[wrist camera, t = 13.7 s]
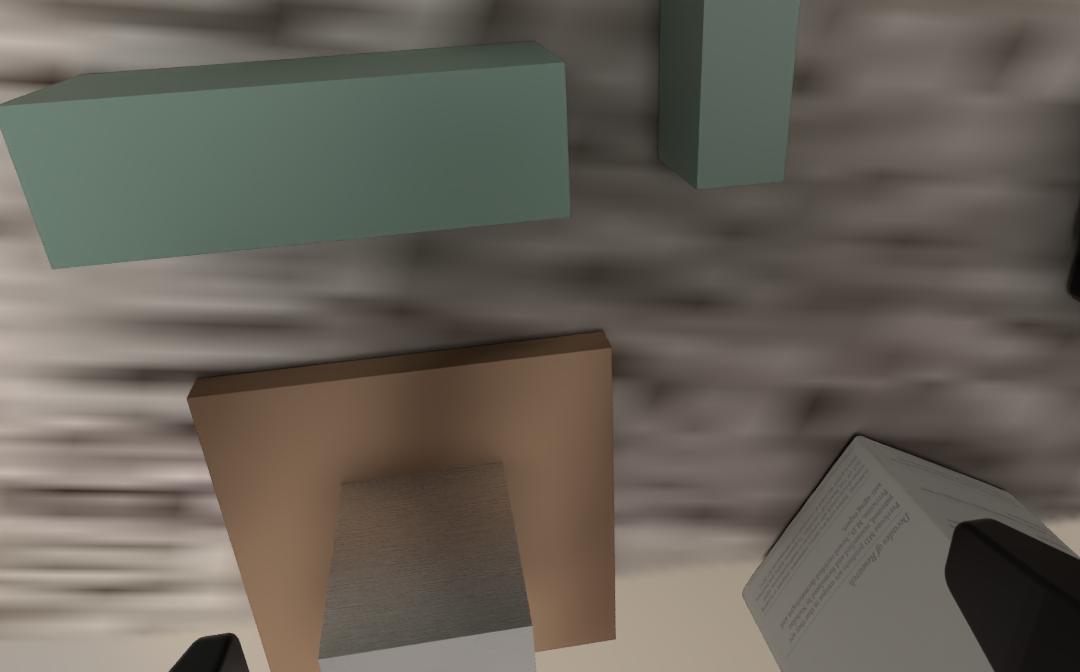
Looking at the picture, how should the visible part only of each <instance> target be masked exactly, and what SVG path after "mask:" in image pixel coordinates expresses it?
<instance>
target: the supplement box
mask: <svg viewBox="0 0 1080 672" xmlns="http://www.w3.org/2000/svg"><path fill="white" fill-rule="evenodd" d="M982 518H991V519H995V520H997V521H999V522H1001V523H1003V524H1006V525H1008V526H1010V527H1012V528H1014V529H1016V530H1018V531H1020V532H1023V533H1025V534H1027V535H1029V536H1031V537H1033V538H1035V539H1037V540H1040V541H1042V542H1044V543H1046V544H1048V545H1050V546H1052V547H1054V548H1056V549H1059V550H1061V551H1063V552H1065V553H1067V554H1069V555H1071V556H1073V557H1076V558H1078V559H1080V557H1079V556H1078V555H1076V554H1075V553H1074V552H1073V551H1072V550H1071V549H1070V548H1069V547H1068V546H1067V545H1065V544H1064V543H1063V542H1062V541H1061V540H1060V539H1059V538H1058V537H1057V536H1056V535H1055V534H1054V533H1053V532H1052V531H1050V530H1049V529H1048V528H1047V527H1046V526H1045V525H1044V524H1043V523H1042V522H1041V521H1040V520H1039V519H1037V518H1036V517H1035V516H1034V515H1033V514H1032V513H1031V512H1030V511H1029V510H1028V509H1026V508H1025V507H1024V506H1023V505H1022V504H1021V503H1020V502H1019V501H1018V500H1016V499H1015V498H1014V497H1013V496H1012V495H1011V494H1009V493H1008V492H1006V491H1003V490H1001V489H998V488H996V487H993V486H991V485H989V484H986V483H984V482H981V481H978V480H976V479H973V478H971V477H968V476H965V475H963V474H960V473H958V472H955V471H952V470H950V469H947V468H944V467H942V466H939V465H936V464H934V463H931V462H929V461H926V460H923V459H921V458H918V457H915V456H913V455H910V454H907V453H905V452H902V451H899V450H897V449H894V448H891V447H889V446H886V445H883V444H881V443H878V442H876V441H873V440H870V439H868V438H865V437H863V436H857V437H855V438H854V440H853V441H852V442H851V443H850V445H849V446H848V447H847V448H846V450H845V451H844V452H843V454H842V455H841V457H840V458H839V459H838V460H837V462H836V463H835V464H834V466H833V467H832V468H831V470H830V471H829V472H828V474H827V475H826V476H825V478H824V479H823V481H822V482H821V483H820V485H819V486H818V488H817V489H816V490H815V491H814V493H813V494H812V495H811V497H810V498H809V499H808V501H807V502H806V503H805V505H804V506H803V508H802V509H801V510H800V512H799V513H798V514H797V516H796V517H795V518H794V519H793V521H792V522H791V523H790V525H789V526H788V527H787V529H786V530H785V532H784V533H783V534H782V536H781V537H780V539H779V540H778V542H777V543H776V544H775V545H774V547H773V548H772V549H771V551H770V552H769V553H768V555H767V556H766V558H765V559H764V561H763V562H762V563H761V565H760V566H759V567H758V568H757V570H756V571H755V573H754V574H753V575H752V577H751V579H750V580H749V582H748V583H747V584H746V586H745V588H744V590H743V594H742V596H743V598H744V600H745V603H746V605H747V607H748V608H749V610H750V612H751V614H752V616H753V618H754V620H755V622H756V623H757V625H758V627H759V629H760V631H761V633H762V635H763V637H764V639H765V641H766V643H767V644H768V647H769V649H770V651H771V652H772V654H773V656H774V658H775V660H776V662H777V664H778V666H779V668H780V670H781V672H994V671H993V669H992V667H991V665H990V663H989V662H988V660H987V658H986V656H985V654H984V652H983V651H982V649H981V647H980V645H979V643H978V642H977V640H976V638H975V636H974V634H973V633H972V631H971V629H970V627H969V625H968V623H967V622H966V620H965V618H964V616H963V614H962V613H961V611H960V609H959V607H958V605H957V604H956V602H955V600H954V598H953V596H952V594H951V593H950V591H949V589H948V586H947V584H946V580H945V572H944V569H945V564H946V560H947V556H948V552H949V548H950V544H951V540H952V536H953V531H954V529H955V527H956V526H957V525H958V524H959V523H960V522H963V521H968V520H975V519H982Z"/></svg>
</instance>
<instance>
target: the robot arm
mask: <svg viewBox="0 0 1080 672" xmlns="http://www.w3.org/2000/svg"><path fill="white" fill-rule="evenodd" d="M1071 295H1072V297H1073V298H1074V299H1075V300H1077V301H1079V302H1080V258H1079V262H1078V265H1077V269H1076V272H1075V276H1074V279H1073V283H1072V286H1071ZM944 572H945V580H946V584H947V586H948V589H949V591H950V593H951V594H952V596H953V598H954V600H955V602H956V604H957V605H958V607H959V609H960V611H961V613H962V614H963V616H964V618H965V620H966V622H967V623H968V625H969V627H970V629H971V631H972V633H973V634H974V636H975V638H976V640H977V642H978V643H979V645H980V647H981V649H982V651H983V652H984V654H985V656H986V658H987V660H988V662H989V663H990V665H991V667H992V669H993V671H994V672H1080V559H1078V558H1076V557H1073V556H1071V555H1069V554H1067V553H1065V552H1063V551H1061V550H1059V549H1056V548H1054V547H1052V546H1050V545H1048V544H1046V543H1044V542H1042V541H1040V540H1037V539H1035V538H1033V537H1031V536H1029V535H1027V534H1025V533H1023V532H1020V531H1018V530H1016V529H1014V528H1012V527H1010V526H1008V525H1006V524H1003V523H1001V522H999V521H997V520H995V519H991V518H982V519H975V520H968V521H963V522H960V523H959V524H958V525H957V526H956V527H955V529H954V531H953V536H952V540H951V544H950V548H949V552H948V556H947V560H946V564H945V569H944ZM169 672H249V669H248V666H247V663H246V660H245V657H244V654H243V651H242V647H241V644H240V641H239V639H238V638H237V636H236V635H235V634H233V633H225V634H218V635H212V636H205V637H201V638H199V639H198V640H196V641H195V642H194V643H193V644H192V645H191V646H190V647H189V648H188V650H187V651H186V652H185V653H184V654H183V655H182V657H181V658H180V659H179V660H178V661H177V662H176V664H175V665H174V666H173V667H172V668H171V669H170V671H169Z"/></svg>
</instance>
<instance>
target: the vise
mask: <svg viewBox="0 0 1080 672" xmlns="http://www.w3.org/2000/svg"><path fill="white" fill-rule="evenodd" d="M799 9H800V0H660V62H659V127H658V158H659V159H660V160H661V161H662V162H664V163H665V164H666V165H667V166H669V167H670V168H671V169H672V170H673V171H675V172H676V173H677V174H678V175H679V176H681V177H682V178H683V179H684V180H685V181H687V182H688V183H689V184H690V185H691V186H693V187H694V188H695V189H696V190H701V189H712V188H722V187H732V186H742V185H753V184H763V183H773V182H783V181H784V174H785V163H786V152H787V141H788V130H789V119H790V108H791V97H792V86H793V75H794V64H795V53H796V42H797V31H798V20H799ZM0 129H1V131H2V134H3V137H4V139H5V142H6V145H7V148H8V150H9V153H10V156H11V158H12V161H13V164H14V167H15V169H16V172H17V175H18V177H19V180H20V183H21V186H22V188H23V191H24V194H25V196H26V199H27V202H28V205H29V207H30V210H31V213H32V216H33V218H34V221H35V224H36V226H37V229H38V232H39V235H40V237H41V240H42V243H43V245H44V248H45V251H46V254H47V256H48V259H49V262H50V264H51V267H52V269H58V268H68V267H78V266H88V265H98V264H108V263H118V262H128V261H138V260H148V259H158V258H168V257H178V256H188V255H198V254H208V253H218V252H228V251H238V250H248V249H258V248H268V247H278V246H288V245H298V244H308V243H318V242H328V241H338V240H348V239H358V238H368V237H378V236H388V235H398V234H408V233H418V232H428V231H438V230H448V229H458V228H468V227H478V226H488V225H498V224H508V223H518V222H528V221H538V220H548V219H558V218H568V217H571V209H570V183H569V156H568V130H567V103H566V77H565V62H564V61H562V60H561V59H560V58H558V57H557V56H555V55H554V54H552V53H551V52H550V51H548V50H547V49H545V48H544V47H543V46H541V45H540V44H538V43H537V42H535V41H525V42H512V43H499V44H485V45H472V46H458V47H445V48H431V49H418V50H405V51H391V52H378V53H364V54H351V55H337V56H324V57H310V58H297V59H284V60H270V61H257V62H243V63H230V64H216V65H203V66H190V67H176V68H163V69H149V70H136V71H122V72H109V73H96V74H82V75H79V76H76V77H73V78H71V79H68V80H65V81H62V82H60V83H57V84H54V85H51V86H49V87H46V88H43V89H40V90H38V91H35V92H32V93H29V94H26V95H24V96H21V97H18V98H15V99H13V100H10V101H7V102H4V103H2V104H0Z"/></svg>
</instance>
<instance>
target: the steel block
mask: <svg viewBox="0 0 1080 672" xmlns="http://www.w3.org/2000/svg"><path fill="white" fill-rule="evenodd" d="M318 662H319V666H320V669H321V672H536V662H535V650H534V638H533V626H532V620H531V615H530V609H529V604H528V598H527V592H526V587H525V581H524V576H523V570H522V565H521V559H520V553H519V548H518V542H517V537H516V531H515V526H514V520H513V514H512V509H511V503H510V498H509V492H508V487H507V481H506V475H505V470H504V464H503V461H501V462H494V463H487V464H479V465H472V466H464V467H457V468H450V469H442V470H435V471H427V472H420V473H412V474H405V475H398V476H390V477H383V478H375V479H368V480H360V481H353V482H346V483H341V491H340V498H339V506H338V513H337V521H336V528H335V536H334V543H333V551H332V558H331V566H330V573H329V581H328V588H327V596H326V603H325V611H324V618H323V626H322V633H321V641H320V648H319V656H318Z"/></svg>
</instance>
